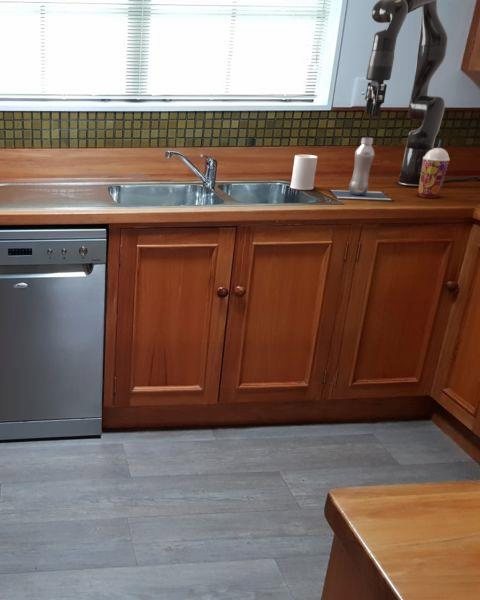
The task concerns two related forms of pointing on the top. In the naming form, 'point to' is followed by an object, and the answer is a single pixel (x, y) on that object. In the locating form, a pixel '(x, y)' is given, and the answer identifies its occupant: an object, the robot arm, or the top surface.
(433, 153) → the smoothie
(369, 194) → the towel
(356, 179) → the plastic bottle
